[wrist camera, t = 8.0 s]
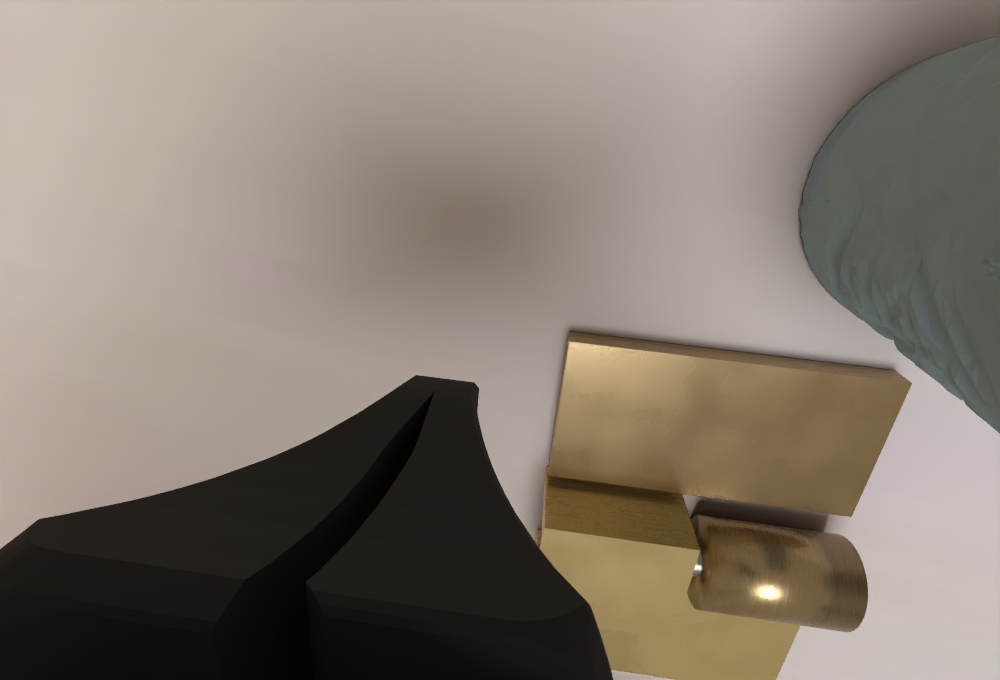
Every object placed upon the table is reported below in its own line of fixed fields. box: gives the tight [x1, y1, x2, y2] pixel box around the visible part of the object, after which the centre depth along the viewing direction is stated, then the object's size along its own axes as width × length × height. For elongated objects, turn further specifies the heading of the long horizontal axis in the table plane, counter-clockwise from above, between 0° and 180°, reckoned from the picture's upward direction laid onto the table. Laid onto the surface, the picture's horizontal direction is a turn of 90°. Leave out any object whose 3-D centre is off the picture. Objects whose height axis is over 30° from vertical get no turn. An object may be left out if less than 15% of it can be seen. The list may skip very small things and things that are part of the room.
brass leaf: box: [535, 466, 800, 680], centre depth 23 cm, size 12×11×4 cm
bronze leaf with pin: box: [549, 331, 912, 632], centre depth 20 cm, size 12×10×4 cm
